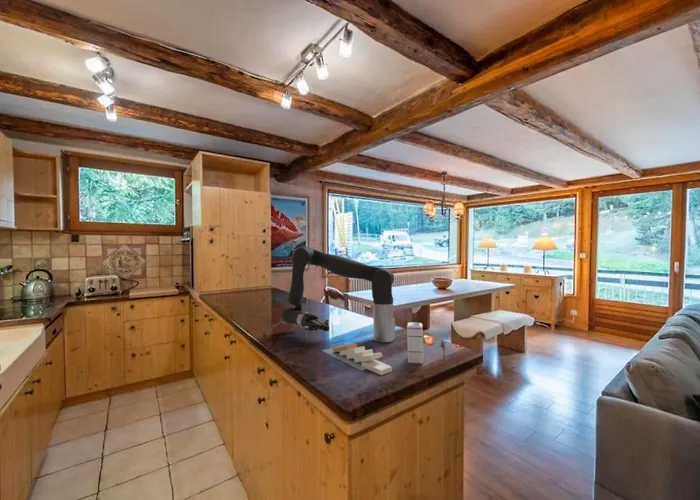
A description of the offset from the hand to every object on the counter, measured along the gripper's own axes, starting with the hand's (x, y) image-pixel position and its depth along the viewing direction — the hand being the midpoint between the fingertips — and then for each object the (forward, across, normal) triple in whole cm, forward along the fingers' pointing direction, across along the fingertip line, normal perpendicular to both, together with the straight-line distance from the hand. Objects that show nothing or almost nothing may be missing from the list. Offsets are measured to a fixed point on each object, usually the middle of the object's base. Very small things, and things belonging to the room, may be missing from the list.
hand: (327, 328), depth 130 cm
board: (+16, 0, +8) cm, 18 cm away
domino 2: (+13, 0, +7) cm, 14 cm away
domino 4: (+22, 0, +6) cm, 23 cm away
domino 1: (+8, 0, +7) cm, 10 cm away
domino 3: (+17, 0, +7) cm, 18 cm away
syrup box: (+34, +17, +8) cm, 39 cm away
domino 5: (+26, 0, +7) cm, 27 cm away
